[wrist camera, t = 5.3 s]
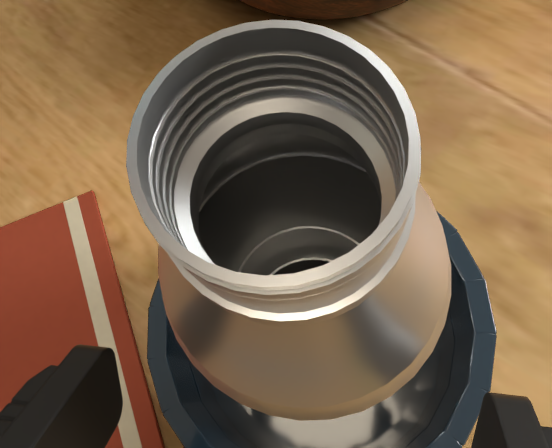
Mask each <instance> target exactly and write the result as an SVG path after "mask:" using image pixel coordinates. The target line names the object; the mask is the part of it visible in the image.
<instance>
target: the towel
mask: <svg viewBox="0 0 552 448" xmlns="http://www.w3.org/2000/svg"><path fill="white" fill-rule="evenodd" d="M79 344H81V345H90V346H99V347H108V348H111V349H113V351H114V353H115V357H116V363H117V369H118V374H119V380H120V386H121V391H122V397H123V407H122V413H121V417H120V420H119V423H118V425H117V427H116V429H115V431H114V433H113V434H112V436H111V438H110V440H109V441H108V443H107V445H106V447H105V448H165V447H164V444H163V440H162V436H161V433H160V429H159V425H158V422H157V418H156V415H155V411H154V407H153V404H152V400H151V396H150V393H149V389H148V386H147V382H146V378H145V375H144V371H143V367H142V364H141V360H140V357H139V353H138V349H137V346H136V342H135V338H134V335H133V331H132V328H131V324H130V320H129V317H128V313H127V310H126V306H125V302H124V299H123V295H122V291H121V288H120V284H119V281H118V277H117V273H116V270H115V266H114V262H113V259H112V255H111V252H110V248H109V244H108V241H107V237H106V233H105V230H104V226H103V223H102V219H101V215H100V212H99V208H98V204H97V201H96V197H95V194H94V192H93V191H89V192H87V193H84V194H82V195H79V196H77V197H74V198H72V199H69V200H67V201H64V202H62V203H60V204H57V205H55V206H52V207H50V208H47V209H45V210H42V211H40V212H37V213H35V214H32V215H30V216H28V217H25V218H23V219H20V220H18V221H15V222H13V223H10V224H8V225H5V226H3V227H0V412H1V411H2V410H3V408H4V407H5V406H6V405H7V404H8V403H11V401H12V398H13V397H14V396H15V395H16V393H17V392H18V391H19V390H20V389H21V388H22V387H23V385H24V384H25V383H26V382H27V381H28V380H29V379H30V378H32V377H33V376H35V375H36V374H38V373H39V372H41V371H42V370H44V369H45V368H47V367H48V366H50V365H56V366H58V365H59V364H60V363H61V362H62V360H63V359H64V358H65V357H66V356H67V354H68V353H69V352H70V351H71V349H72V348H73V347H75V346H76V345H79Z"/></svg>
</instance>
